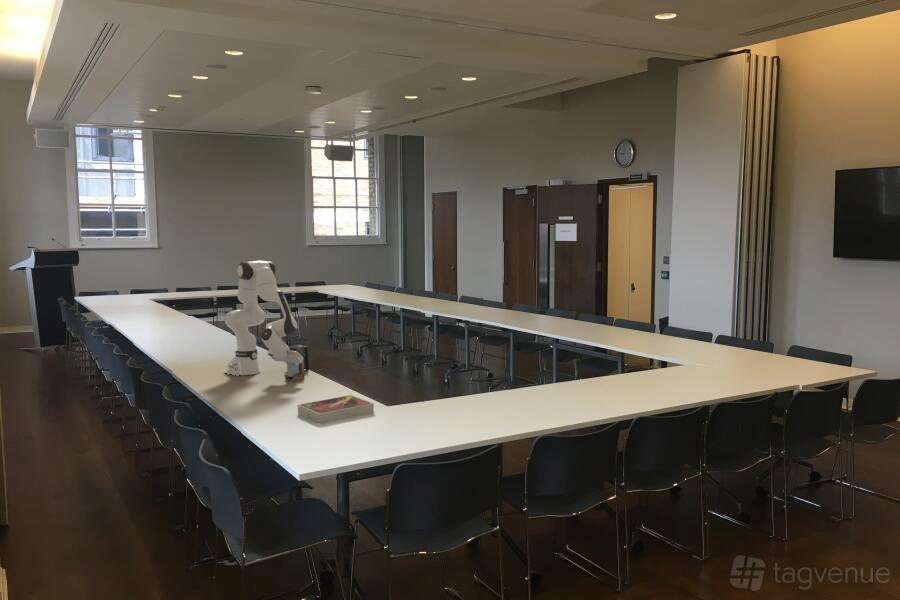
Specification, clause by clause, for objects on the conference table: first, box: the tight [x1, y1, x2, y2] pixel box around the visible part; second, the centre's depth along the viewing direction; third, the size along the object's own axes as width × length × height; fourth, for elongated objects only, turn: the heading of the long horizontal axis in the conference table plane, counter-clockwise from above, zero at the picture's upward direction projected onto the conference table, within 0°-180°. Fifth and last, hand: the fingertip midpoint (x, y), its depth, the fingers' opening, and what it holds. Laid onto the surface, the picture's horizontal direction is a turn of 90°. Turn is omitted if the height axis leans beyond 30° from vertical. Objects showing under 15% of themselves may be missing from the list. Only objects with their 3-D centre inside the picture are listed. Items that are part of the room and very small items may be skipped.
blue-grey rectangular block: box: [286, 362, 299, 377], centre depth 409 cm, size 4×6×12 cm, turn 151°
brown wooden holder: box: [284, 361, 305, 382], centre depth 410 cm, size 6×9×10 cm
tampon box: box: [287, 344, 310, 371], centre depth 437 cm, size 11×9×15 cm
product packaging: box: [297, 394, 375, 425], centre depth 336 cm, size 22×28×5 cm
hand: (293, 364), depth 409 cm, fingers closed on blue-grey rectangular block, 3 cm apart
